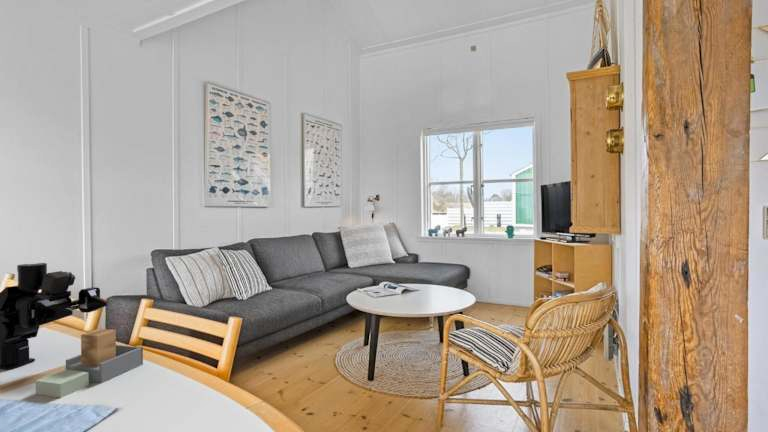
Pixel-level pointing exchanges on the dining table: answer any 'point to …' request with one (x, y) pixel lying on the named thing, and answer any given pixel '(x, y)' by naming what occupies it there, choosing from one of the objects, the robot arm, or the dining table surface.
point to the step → (62, 383)
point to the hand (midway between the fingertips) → (89, 308)
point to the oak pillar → (98, 346)
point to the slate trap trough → (109, 364)
